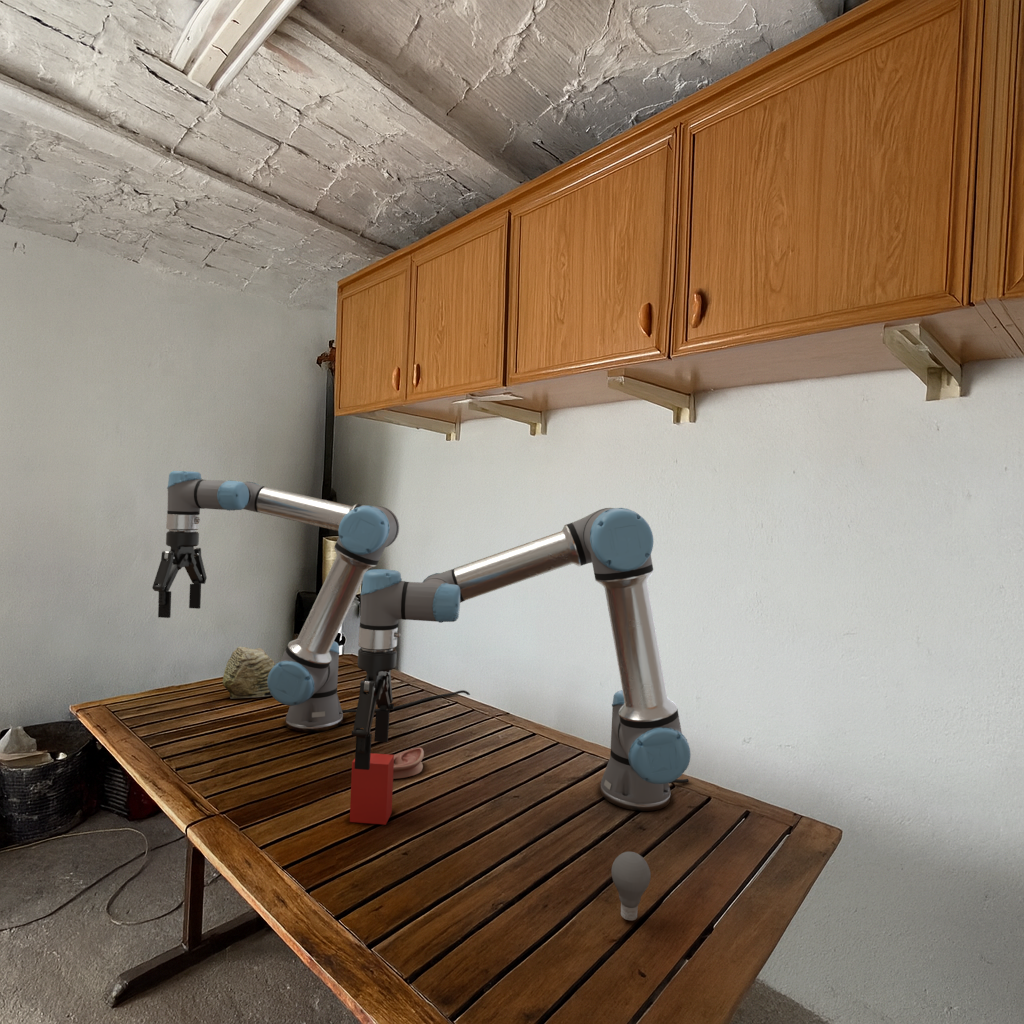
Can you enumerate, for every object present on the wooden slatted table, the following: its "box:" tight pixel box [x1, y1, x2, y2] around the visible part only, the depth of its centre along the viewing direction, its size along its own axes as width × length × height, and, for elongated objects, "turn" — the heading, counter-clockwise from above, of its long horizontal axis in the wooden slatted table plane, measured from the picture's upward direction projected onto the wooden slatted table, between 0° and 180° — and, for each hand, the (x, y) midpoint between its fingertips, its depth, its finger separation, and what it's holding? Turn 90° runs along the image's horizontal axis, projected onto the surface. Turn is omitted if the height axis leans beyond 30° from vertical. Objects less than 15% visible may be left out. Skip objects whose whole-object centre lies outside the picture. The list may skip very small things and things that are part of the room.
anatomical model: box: [393, 747, 425, 780], centre depth 148 cm, size 13×4×12 cm
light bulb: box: [611, 851, 652, 921], centre depth 99 cm, size 6×6×10 cm
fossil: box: [222, 646, 276, 699], centre depth 198 cm, size 9×18×15 cm, turn 132°
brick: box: [349, 752, 395, 826], centre depth 126 cm, size 7×5×12 cm, turn 87°
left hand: (180, 612), depth 164 cm, fingers open, 13 cm apart
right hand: (372, 754), depth 126 cm, fingers open, 13 cm apart
